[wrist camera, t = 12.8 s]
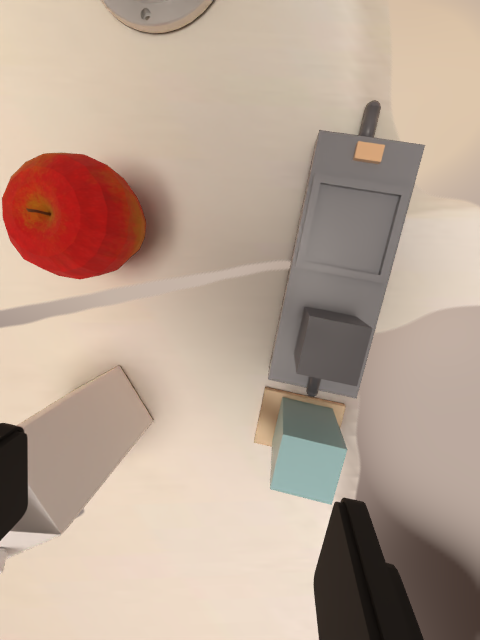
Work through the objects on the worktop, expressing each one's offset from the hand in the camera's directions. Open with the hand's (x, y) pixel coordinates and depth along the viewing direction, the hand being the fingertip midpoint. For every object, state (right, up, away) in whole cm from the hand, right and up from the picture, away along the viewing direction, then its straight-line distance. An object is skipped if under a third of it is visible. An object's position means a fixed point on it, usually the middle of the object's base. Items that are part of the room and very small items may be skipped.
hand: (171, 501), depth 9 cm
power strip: (+11, +11, +20) cm, 25 cm away
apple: (-10, +14, +22) cm, 28 cm away
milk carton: (-12, -4, +26) cm, 29 cm away
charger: (+8, -5, +23) cm, 25 cm away
